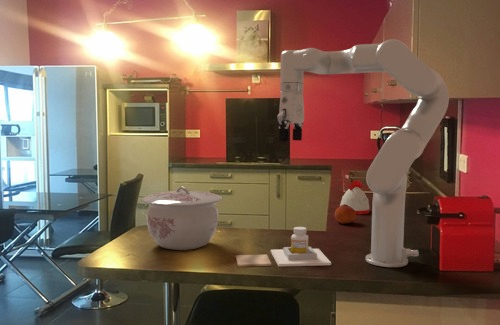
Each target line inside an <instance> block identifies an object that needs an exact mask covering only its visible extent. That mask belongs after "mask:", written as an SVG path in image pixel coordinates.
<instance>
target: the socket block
mask: <svg viewBox="0 0 500 325" xmlns="http://www.w3.org/2000/svg"><path fill="white" fill-rule="evenodd" d="M270 253H271V255H272V257H273V259H274V260H275V262H276V264H277V267H279V268H280V267H306V266H307V267H309V266H310V267H313V266H315V267H316V266H332V262H331V261H330V260H329V258H328V257H327V255H325V254H324V253H323V252H322V251H321V249H320V248H312V246H308V253H295V254H291V246H284V247H283V248H282V249H270Z"/></svg>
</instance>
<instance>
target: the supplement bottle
mask: <svg viewBox="0 0 500 325" xmlns="http://www.w3.org/2000/svg"><path fill="white" fill-rule="evenodd" d="M290 240H291V241H290V247H291V254H295V253H308V247H309V235H308V234H307V227H305V226H295V227H293V234H292V235H291V237H290Z"/></svg>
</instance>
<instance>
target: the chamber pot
mask: <svg viewBox="0 0 500 325" xmlns="http://www.w3.org/2000/svg"><path fill="white" fill-rule="evenodd" d="M222 200H223V197H222V196H221V195H219V194H216V193H213V192H208V191H202V190H189V189H188V188H187V187H185V186H183V185H181V186H178V187H177V189H176V190H167V191H161V192H160V191H159V192H155V193H151V194H148V195H145V196H144V197H142V198H141V201H142V202H143V203H144V204H148V205H149V206H148V207H149V208H147V211H146V213H145V214H146V216H145V217H146V223H147V224H146V225H147V228H148V232H149V234H150V235H151V237H152V238H153V240H154V242H155V243H156V244H157V245H158V246H159V247H161V248H164V249H167V250H171V251H192V250H196V249H199V248H202V247H204V246H206V245H208V243H209V242H210V241H211V239H212V238H213V236H214V235H215V233H216V231H217V228H218V221H219V210H218V208H217V206H216V204H217V203H220V202H221V201H222Z"/></svg>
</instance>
